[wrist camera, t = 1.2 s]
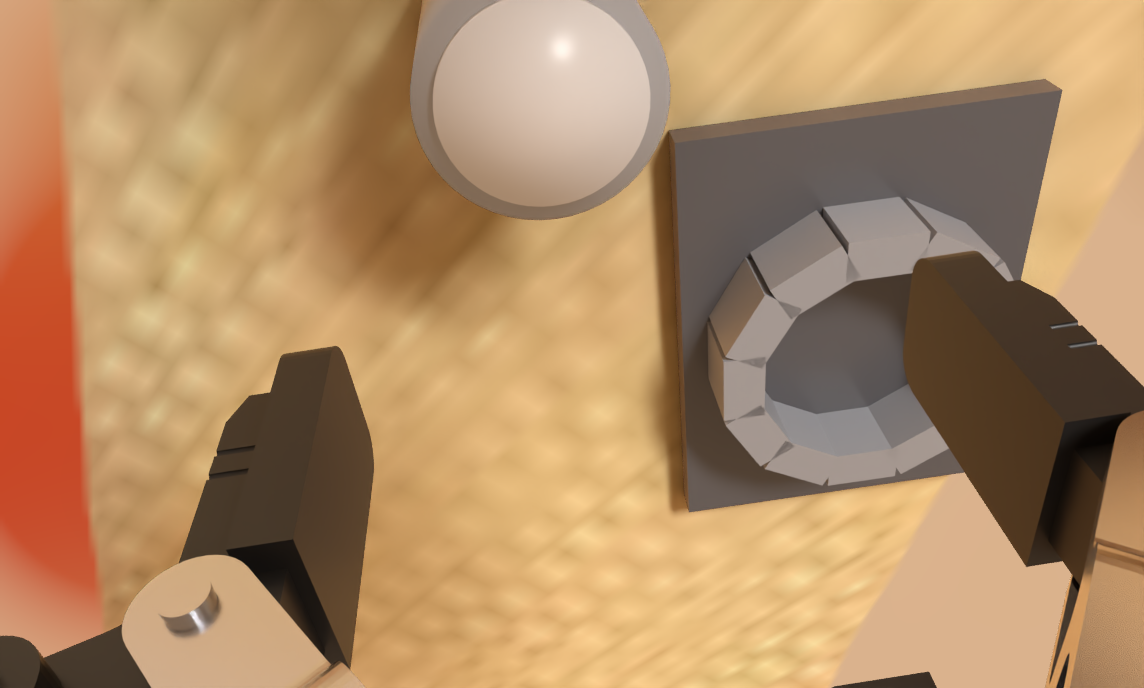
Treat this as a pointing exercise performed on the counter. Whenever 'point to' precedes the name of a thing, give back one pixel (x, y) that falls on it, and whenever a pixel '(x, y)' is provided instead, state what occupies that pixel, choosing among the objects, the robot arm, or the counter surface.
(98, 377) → the counter surface
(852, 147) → the plate with ring hole
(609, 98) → the peg
